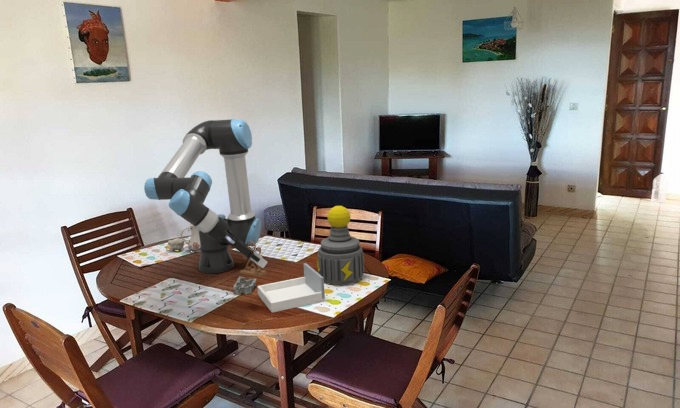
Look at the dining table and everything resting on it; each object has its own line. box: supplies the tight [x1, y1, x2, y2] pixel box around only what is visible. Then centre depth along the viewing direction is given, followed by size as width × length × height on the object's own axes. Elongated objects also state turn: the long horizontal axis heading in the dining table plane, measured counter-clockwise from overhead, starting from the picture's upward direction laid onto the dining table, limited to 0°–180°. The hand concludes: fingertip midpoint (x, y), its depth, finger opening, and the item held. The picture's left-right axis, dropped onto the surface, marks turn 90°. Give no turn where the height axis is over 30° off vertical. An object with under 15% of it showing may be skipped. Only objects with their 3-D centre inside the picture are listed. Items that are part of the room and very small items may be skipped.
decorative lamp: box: [316, 205, 365, 286], centre depth 200 cm, size 19×19×30 cm
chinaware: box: [165, 223, 201, 253], centre depth 248 cm, size 28×17×17 cm, turn 129°
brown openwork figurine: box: [240, 241, 267, 278], centre depth 176 cm, size 9×4×12 cm, turn 62°
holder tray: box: [256, 262, 326, 313], centre depth 184 cm, size 18×20×9 cm
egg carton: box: [232, 275, 257, 296], centre depth 195 cm, size 11×8×4 cm
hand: (262, 262), depth 178 cm, fingers closed on brown openwork figurine, 6 cm apart
